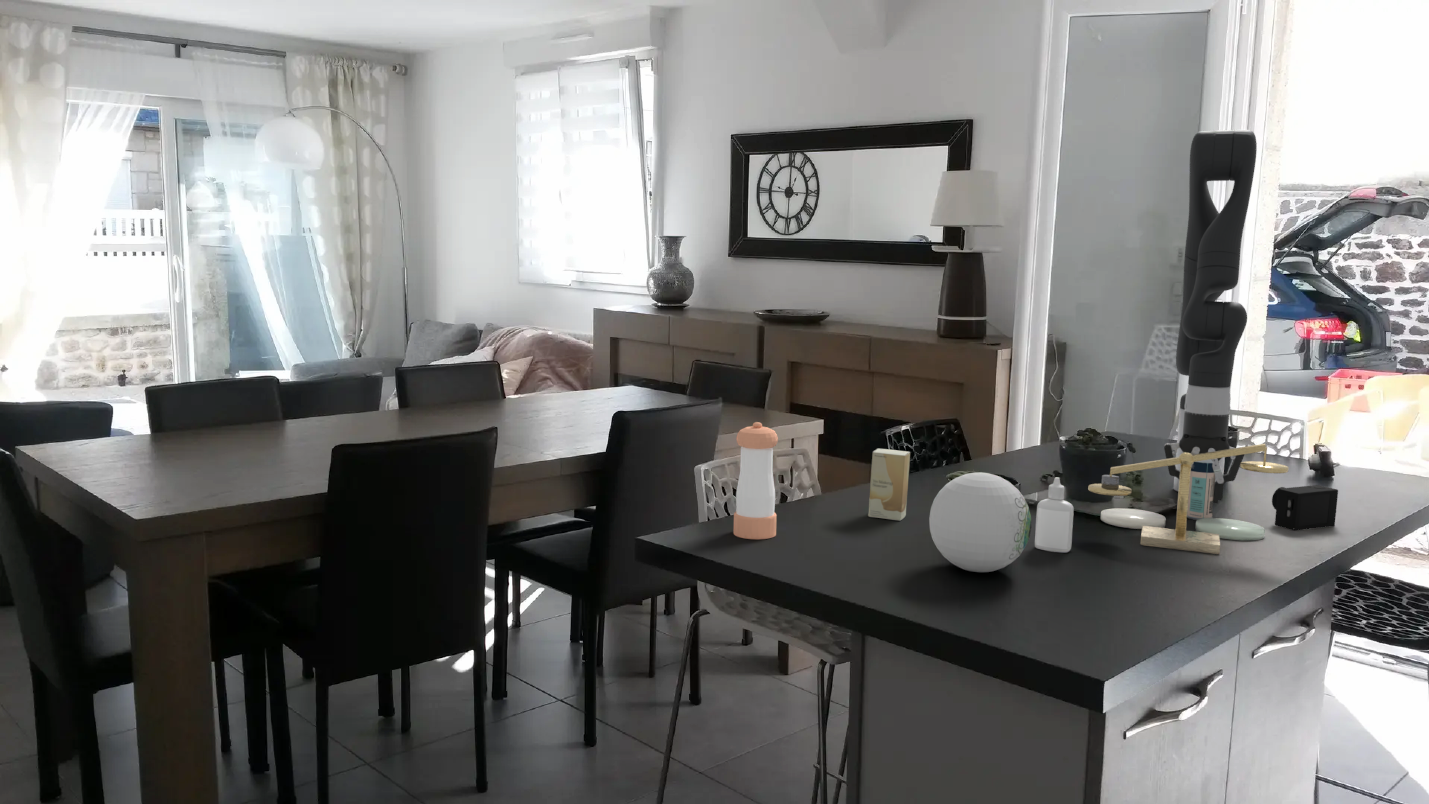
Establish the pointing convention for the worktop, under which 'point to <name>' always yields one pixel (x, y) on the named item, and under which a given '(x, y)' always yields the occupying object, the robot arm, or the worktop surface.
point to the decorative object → (980, 522)
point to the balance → (1182, 497)
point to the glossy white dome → (1132, 518)
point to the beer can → (1201, 490)
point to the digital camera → (1305, 507)
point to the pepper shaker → (756, 484)
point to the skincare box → (889, 484)
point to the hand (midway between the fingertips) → (1199, 500)
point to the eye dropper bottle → (1054, 521)
